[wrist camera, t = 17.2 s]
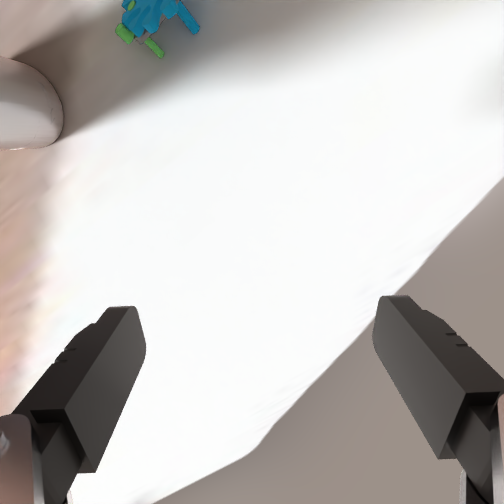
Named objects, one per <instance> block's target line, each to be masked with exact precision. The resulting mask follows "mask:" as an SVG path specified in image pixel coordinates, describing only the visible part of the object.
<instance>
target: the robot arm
mask: <svg viewBox="0 0 504 504" xmlns="http://www.w3.org/2000/svg"><path fill="white" fill-rule="evenodd" d="M62 126H63V110H62V105H61V102H60V100H59V97H58V95H57V93H56V91H55V90H54V88H53V86H52V85H51V84H50V82H49V81H48V80H47V79H46V78H45V77H44V76H43V75H42V74H41V73H40V72H39V71H37V70H36V69H34V68H33V67H31V66H29V65H27V64H24V63H22V62H18V61H15V60H12V59H8V58H5V57H1V56H0V151H1V150H17V149H30V148H42V147H45V146H48V145H50V144H52V143H53V142H54V141H55V140H56V139H57V138H58V137H59V135H60V133H61V131H62ZM373 344H374V348H375V351H376V353H377V354H378V356H379V358H380V360H381V361H382V363H383V365H384V367H385V368H386V370H387V372H388V373H389V375H390V377H391V379H392V380H393V382H394V384H395V386H396V387H397V389H398V391H399V393H400V394H401V396H402V398H403V400H404V401H405V403H406V405H407V406H408V408H409V410H410V412H411V413H412V415H413V417H414V419H415V420H416V422H417V424H418V426H419V427H420V429H421V431H422V432H423V434H424V436H425V438H426V439H427V441H428V443H429V445H430V446H431V448H432V449H433V452H434V453H435V455H436V457H437V458H438V459H456V458H457V459H458V461H459V462H460V464H461V466H462V467H463V472H462V473H461V478H460V504H504V379H503V378H502V377H501V376H500V375H499V374H498V373H497V372H496V371H495V370H494V369H493V368H492V367H491V366H490V365H489V364H487V362H486V361H485V360H484V359H483V358H481V356H480V355H478V354H477V353H476V352H475V351H474V350H473V349H472V348H471V347H468V345H467V343H466V342H465V341H464V340H463V339H462V338H461V337H460V336H457V334H456V332H455V331H454V330H453V329H452V328H451V327H450V326H449V325H448V324H447V323H446V322H445V321H444V320H442V319H441V318H439V317H437V316H435V315H434V314H432V313H430V312H429V311H427V310H422V309H421V308H420V307H419V306H418V305H417V304H416V303H415V302H414V301H413V300H412V299H411V298H410V297H409V296H408V295H393V296H382V297H380V299H379V302H378V307H377V312H376V318H375V323H374V328H373ZM145 354H146V342H145V338H144V334H143V330H142V326H141V323H140V319H139V315H138V311H137V309H136V307H135V306H120V307H109V308H107V309H106V310H105V312H104V313H103V314H102V316H101V317H100V318H99V320H98V321H97V322H96V323H91V324H90V325H89V326H87V327H86V328H85V329H83V330H82V331H80V332H79V333H78V334H76V335H75V336H74V338H73V339H72V340H71V341H70V342H69V344H68V345H67V346H66V347H65V349H64V352H61V353H60V355H59V356H58V357H57V358H56V360H55V363H54V364H51V366H50V367H49V368H48V369H47V371H46V372H45V373H44V374H43V375H42V377H41V378H40V379H39V380H38V382H37V383H36V384H35V385H34V386H33V388H32V389H31V390H30V391H29V393H28V394H27V395H26V396H25V397H24V399H23V400H22V401H21V402H20V404H19V405H18V406H17V407H16V408H15V410H14V411H13V412H12V413H11V414H9V415H4V416H1V417H0V504H73V499H72V494H71V491H70V487H71V485H72V483H73V481H74V479H75V477H76V475H77V474H78V473H95V472H96V470H97V468H98V466H99V463H100V461H101V459H102V456H103V454H104V452H105V450H106V447H107V445H108V443H109V440H110V438H111V436H112V433H113V431H114V429H115V427H116V424H117V422H118V420H119V417H120V415H121V413H122V410H123V408H124V406H125V404H126V401H127V399H128V397H129V394H130V392H131V390H132V387H133V385H134V383H135V381H136V378H137V376H138V374H139V371H140V369H141V367H142V364H143V362H144V359H145Z"/></svg>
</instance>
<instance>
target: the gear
mask: <svg viewBox="0 0 504 504" xmlns="http://www.w3.org/2000/svg"><path fill="white" fill-rule="evenodd" d="M122 7H123V8H124V9H125V10H126V12H125V13H124V14H123V16H122V23H120V24H119V25H118V26H117V28H116V30H115V33H116V34H117V35H118V36H119V37H121V38H122V39H123V40H124V41H125V42H126V43H127V44H130V43H131V42H132V41H133V38H134V39H135V40H136V41H137V42H138V43H139V44H142V43H144V42H145V43H146V44H147V45H148V46H149V47H150V48H151V49H152V50H153V51H154V53H155V54H156V55H157V56H158V57H159V58H162V57H163V55H164V52H163V51H162V50H161V49H160V48H159V47H158V46H157V44H156V43H155V42H154V41H153V40H152V39H151V38H150V37H149V36H150V35H151V34H152V33H155V32H156V31H157V30H158V28H159V25H160V24H161V23H162V21H163V20H164V19H165V18H166V17H167V19H170V18H171V17H173V16H174V15H175V14H176V13H177V15H178V16H179V17H180V18H181V20H182V21H183V22H184V23H185V25H186V26H187V27H188V29H189V30H190V31H191V32H192V34H196V33H197V32H198V31H199V28H200V26H199V25H198V24H197V22H196V21H195V20H194V18H193V17H192V16H191V14H190V13H189V12H188V10H187V9H186V7H185V6H184V5H183V3H182V2H181V1H180V0H124V1H123V3H122Z"/></svg>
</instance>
